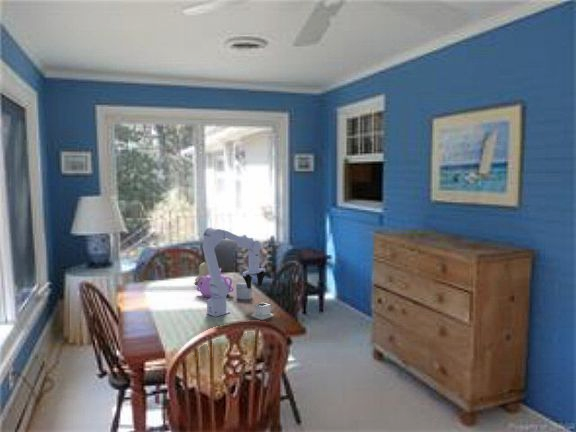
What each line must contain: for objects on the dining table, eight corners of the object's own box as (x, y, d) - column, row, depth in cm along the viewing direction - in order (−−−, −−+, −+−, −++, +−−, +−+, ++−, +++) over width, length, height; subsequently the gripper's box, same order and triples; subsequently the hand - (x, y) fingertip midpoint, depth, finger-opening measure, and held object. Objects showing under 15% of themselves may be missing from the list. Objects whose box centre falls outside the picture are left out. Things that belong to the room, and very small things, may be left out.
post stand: (261, 319, 227) (261, 309, 227) (251, 316, 233) (251, 305, 233) (273, 316, 233) (273, 305, 232) (263, 312, 239) (263, 302, 238)
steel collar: (262, 316, 229) (262, 306, 228) (254, 314, 233) (254, 304, 232) (270, 314, 233) (270, 304, 232) (263, 311, 237) (263, 302, 236)
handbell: (199, 286, 294) (197, 247, 292) (191, 281, 308) (190, 243, 305) (222, 283, 302) (220, 245, 299) (214, 278, 315) (212, 241, 313)
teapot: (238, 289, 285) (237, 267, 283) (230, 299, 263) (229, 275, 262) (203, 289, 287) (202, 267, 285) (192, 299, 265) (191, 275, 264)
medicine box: (252, 297, 267) (251, 283, 266) (249, 299, 262) (249, 284, 262) (239, 297, 269) (239, 282, 268) (236, 299, 265) (236, 284, 264)
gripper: (248, 265, 243) (248, 290, 244) (268, 261, 253) (269, 285, 254) (239, 263, 248) (240, 288, 249) (260, 259, 258) (260, 283, 259)
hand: (254, 286), depth 252 cm, fingers open, 7 cm apart
